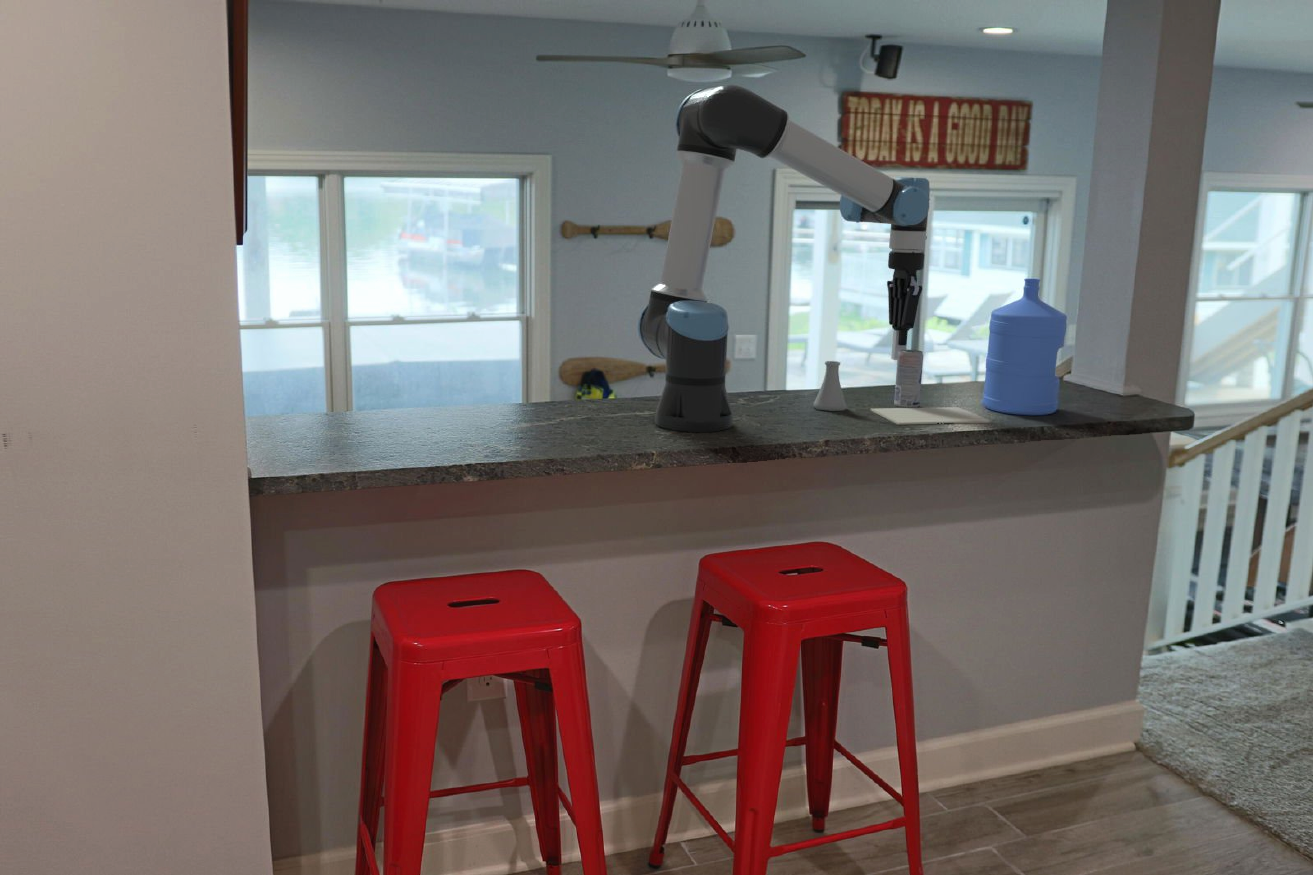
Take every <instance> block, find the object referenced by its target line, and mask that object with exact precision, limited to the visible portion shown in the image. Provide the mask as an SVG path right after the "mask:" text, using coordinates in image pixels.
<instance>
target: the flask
mask: <svg viewBox="0 0 1313 875" xmlns="http://www.w3.org/2000/svg"><path fill="white" fill-rule="evenodd" d="M824 365H825V373H824V374H825V375H824V377H823V380H822V383H821V386H820V388H819V391H818V393H817V395H816V398H815V400H814V403H813V405H812V407H813V408H815V409H816V410H820V411H821V410H822V411H829V412H832V411H833V412H835V411H836V412H837V411H845V410H847V409H848V407H847V404H846V400H845V397H844V393H843V388H842V385H841V382H840V375H839V373H840V372H839V371H840V370H839V369H840V366H841V362H840V361H836V360H826V361H824Z"/></svg>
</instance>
